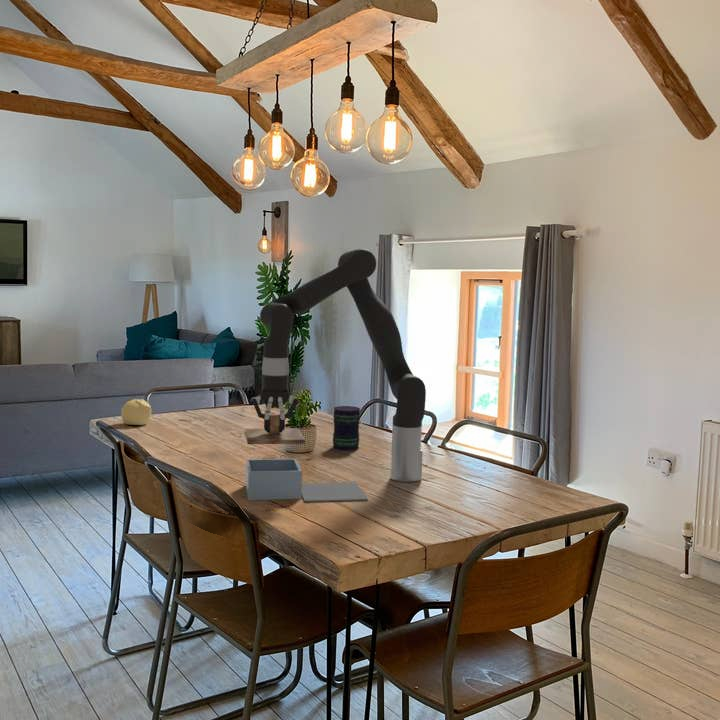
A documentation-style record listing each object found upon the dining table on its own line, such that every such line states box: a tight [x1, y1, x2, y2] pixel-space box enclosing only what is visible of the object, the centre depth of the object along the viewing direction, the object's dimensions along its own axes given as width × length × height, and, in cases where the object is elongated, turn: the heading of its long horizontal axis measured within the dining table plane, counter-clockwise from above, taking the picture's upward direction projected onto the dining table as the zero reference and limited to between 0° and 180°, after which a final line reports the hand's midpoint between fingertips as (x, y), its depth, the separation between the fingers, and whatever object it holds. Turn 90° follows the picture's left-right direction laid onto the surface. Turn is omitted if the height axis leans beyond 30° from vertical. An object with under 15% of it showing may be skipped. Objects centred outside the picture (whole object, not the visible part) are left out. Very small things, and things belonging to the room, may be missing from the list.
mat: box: [301, 481, 369, 503], centre depth 226 cm, size 18×18×1 cm
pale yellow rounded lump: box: [120, 398, 153, 426], centre depth 317 cm, size 11×12×11 cm
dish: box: [244, 458, 303, 501], centre depth 224 cm, size 15×15×8 cm
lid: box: [244, 413, 306, 445], centre depth 223 cm, size 16×16×7 cm
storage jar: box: [332, 405, 361, 452], centre depth 286 cm, size 10×10×15 cm
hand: (274, 431), depth 223 cm, fingers closed on lid, 3 cm apart
